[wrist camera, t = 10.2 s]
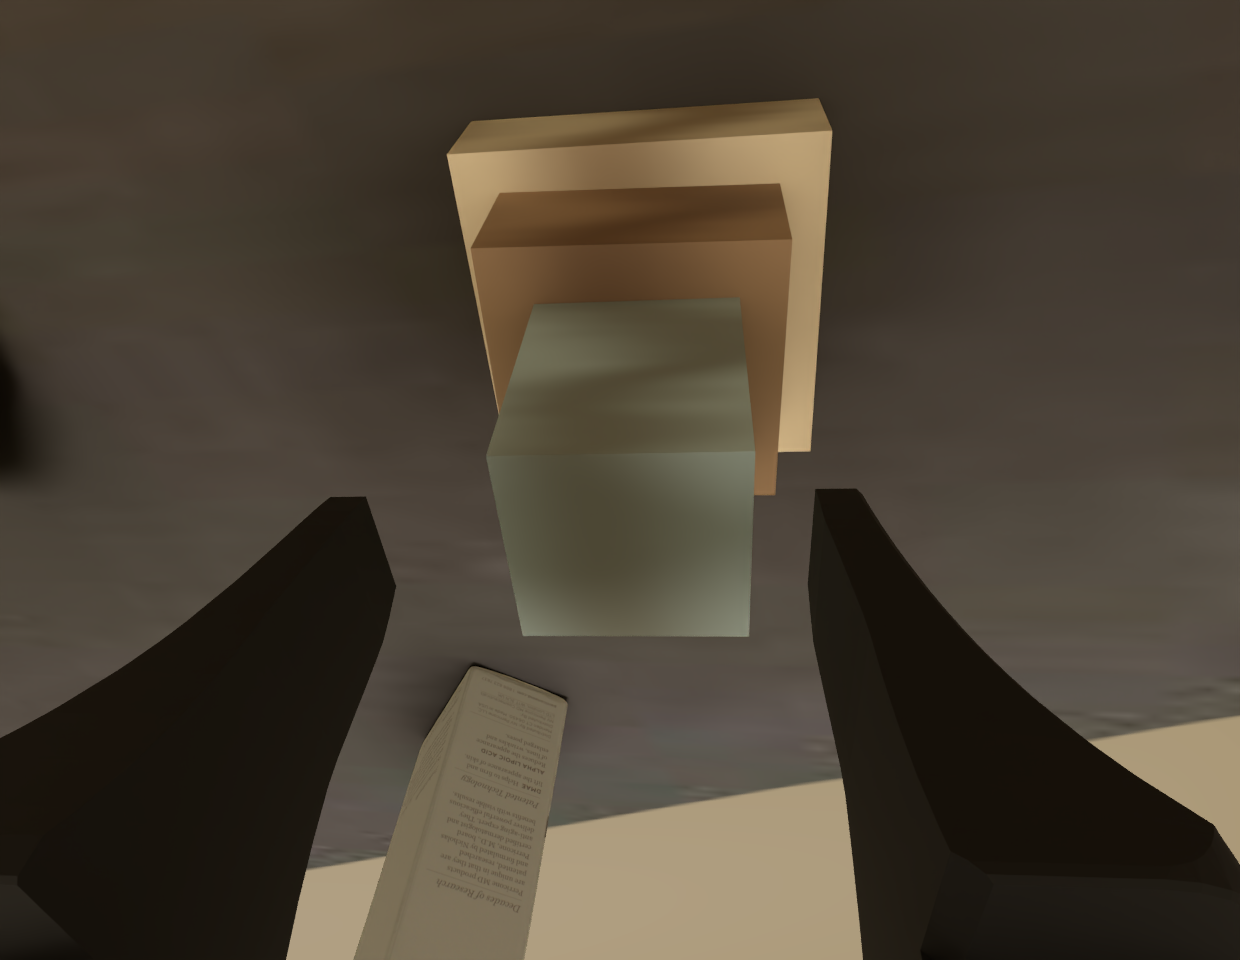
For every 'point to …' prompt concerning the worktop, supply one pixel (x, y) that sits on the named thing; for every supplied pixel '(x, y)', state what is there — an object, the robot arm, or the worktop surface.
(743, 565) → the greenish gray cube
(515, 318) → the walnut block
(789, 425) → the birch slab
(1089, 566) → the worktop surface
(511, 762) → the skincare box
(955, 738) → the robot arm
